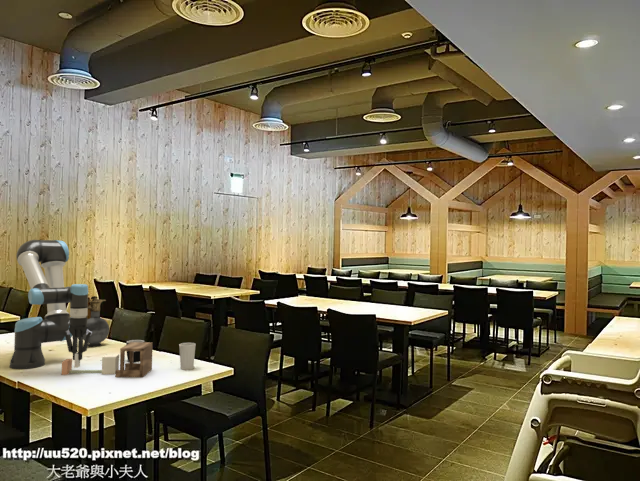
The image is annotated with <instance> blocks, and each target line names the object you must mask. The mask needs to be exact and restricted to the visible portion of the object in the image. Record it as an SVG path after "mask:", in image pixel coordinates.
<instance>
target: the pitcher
mask: <svg viewBox="0 0 640 481" xmlns="http://www.w3.org/2000/svg"><path fill="white" fill-rule="evenodd" d="M106 301H107V300H106V299H99V296H95V295H91V297H90V298H88V303H89V304H88V307H87V308H88V309H89V310H90V318H87V328H88V330H89V331H92V332H93V334H92V335H91V336H90V340H89V344H88V346H89V348H94V347H93V346H98V347H101V346H102V345H103V344H102V342H104V341H105V340H106V339H107V338H108V336H109V334H110V326H109V323H108V321H107V320H106V319H104V318H102V317H101V304H103V302H106ZM86 336H87V335H86V333H85V334H84V338H83V342H85V338H86ZM100 345H101V346H100Z"/></svg>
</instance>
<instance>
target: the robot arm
mask: <svg viewBox="0 0 640 481" xmlns="http://www.w3.org/2000/svg"><path fill="white" fill-rule="evenodd" d="M15 255H16V261H17V263H18V265H19V266H21V268H22V270H23V273H24V274H25V277H26V279H27V282H28V285H29V288H30V289H29V291H28V294H27V297H28V302H29V304H30V305H46V307H47V308H46V310H47V314H45V316H44V319H43V318H42V317H41V316H35V317H34V316H33V317H26V318H22V319H20V320H19V319H18V321H16V322H15V325H14V330H13V331H14V344H13V345H14V346H13V347H14V350H13V354H12V356H11V359H10V361H9V368H10V369H13V370H14V369H16V370H25V369H34V368H35V369H36V368H39V367H42V366H44V365H46V364H45V363H46V359H45V357H44V353H43V351H42V350H43V349H42V344H45V343H54V342H63V341H66V345H67V350H68V352H69V353H72V361H74V367H73V368H75V369H76V368H80V367H81V361H82V360H83V353H85V352H87V350H88V344H89V340H90V336H91V335H92V334H93V332H92V331H89V330H88V328H87V319H88V308H87V307H88V306H89V304H88V303H89V302H88V299H89V285H88V284H86V283H74V284H73V283H72V284H71V286H65V280H64V279H65V278H64V266H65V265H66V264H67V262H68V261H69V258H70V257H69V255H70V251H69V247H68V245H67V243H66V242H65V241H63V240H58V239H53V240H52V239H30V240H28V241H25V242H24V243H22V244H21V245H20V246H19V247H18V249H17V251H16V254H15ZM42 268H43V269H44V271H43V269H42ZM66 304H69V312H68V311H67V305H66ZM85 333H86V335H87V336H86V338H85V341H84V340H83V338H84V334H85Z"/></svg>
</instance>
